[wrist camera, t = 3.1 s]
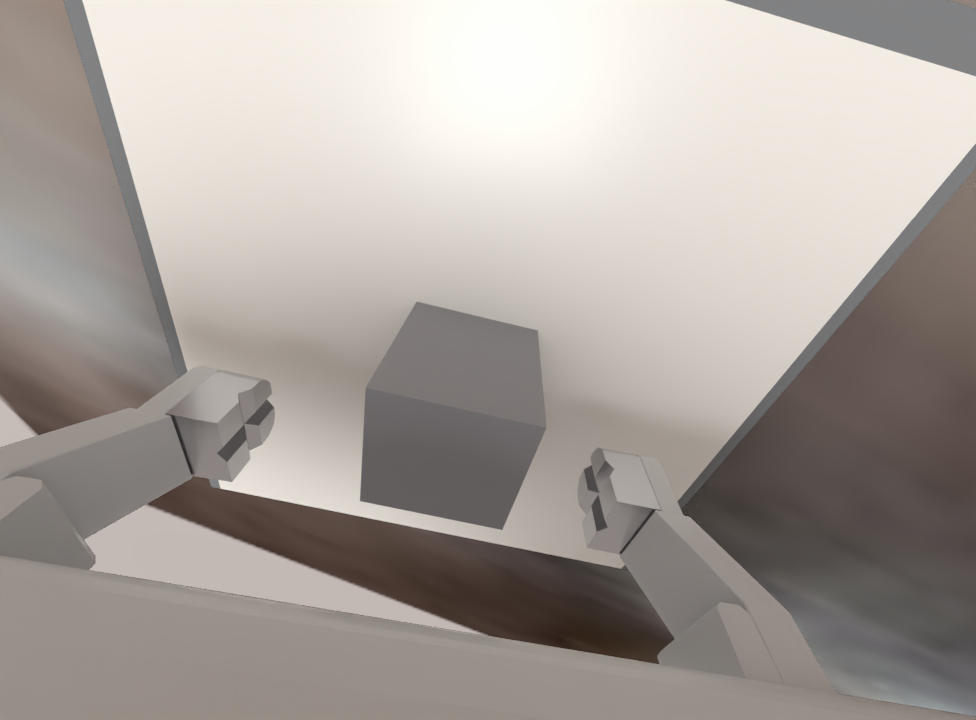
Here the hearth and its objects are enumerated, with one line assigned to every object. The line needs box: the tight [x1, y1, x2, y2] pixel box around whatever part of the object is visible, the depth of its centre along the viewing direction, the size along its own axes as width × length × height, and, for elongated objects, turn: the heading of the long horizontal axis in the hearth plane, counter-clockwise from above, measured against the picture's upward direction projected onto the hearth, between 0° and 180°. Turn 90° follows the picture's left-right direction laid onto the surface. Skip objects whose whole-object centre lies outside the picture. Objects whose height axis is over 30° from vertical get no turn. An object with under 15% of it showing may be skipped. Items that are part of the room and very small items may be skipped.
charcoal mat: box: [63, 0, 976, 570], centre depth 12 cm, size 20×20×1 cm
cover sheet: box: [82, 0, 976, 569], centre depth 10 cm, size 18×18×5 cm
